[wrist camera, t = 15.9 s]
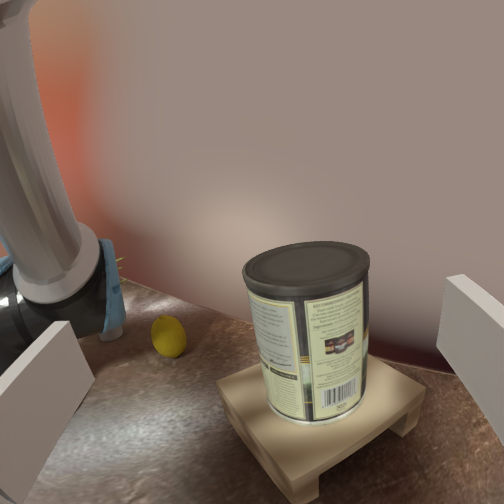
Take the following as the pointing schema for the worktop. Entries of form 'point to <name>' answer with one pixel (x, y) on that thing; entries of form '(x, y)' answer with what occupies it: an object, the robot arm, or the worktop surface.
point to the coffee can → (311, 328)
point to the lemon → (168, 336)
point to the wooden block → (316, 437)
